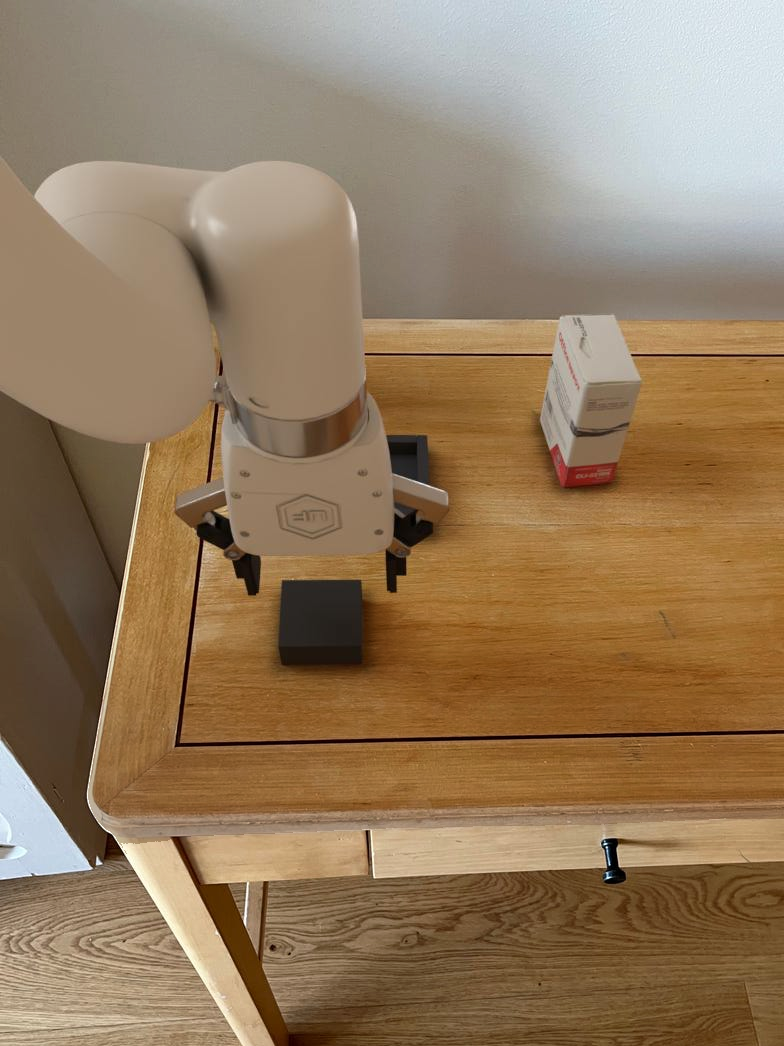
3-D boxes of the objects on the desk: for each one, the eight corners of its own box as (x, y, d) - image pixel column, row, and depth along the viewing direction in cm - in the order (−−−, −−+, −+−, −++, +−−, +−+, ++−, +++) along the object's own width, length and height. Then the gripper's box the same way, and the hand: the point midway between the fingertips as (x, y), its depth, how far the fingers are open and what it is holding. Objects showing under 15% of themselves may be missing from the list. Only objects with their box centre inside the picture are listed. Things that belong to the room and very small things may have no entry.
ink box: (614, 483, 84) (644, 380, 74) (560, 489, 83) (583, 385, 74) (589, 414, 89) (614, 308, 79) (538, 419, 88) (556, 312, 78)
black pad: (281, 665, 72) (278, 646, 70) (285, 599, 75) (281, 579, 73) (362, 663, 72) (361, 645, 70) (362, 598, 76) (361, 579, 73)
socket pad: (318, 535, 79) (316, 517, 77) (320, 452, 84) (319, 433, 82) (430, 535, 80) (431, 517, 78) (426, 453, 85) (427, 434, 83)
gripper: (132, 447, 51) (194, 624, 65) (457, 445, 52) (448, 619, 67) (149, 351, 55) (204, 538, 69) (450, 351, 56) (443, 534, 71)
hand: (323, 577), depth 68 cm, fingers open, 9 cm apart
